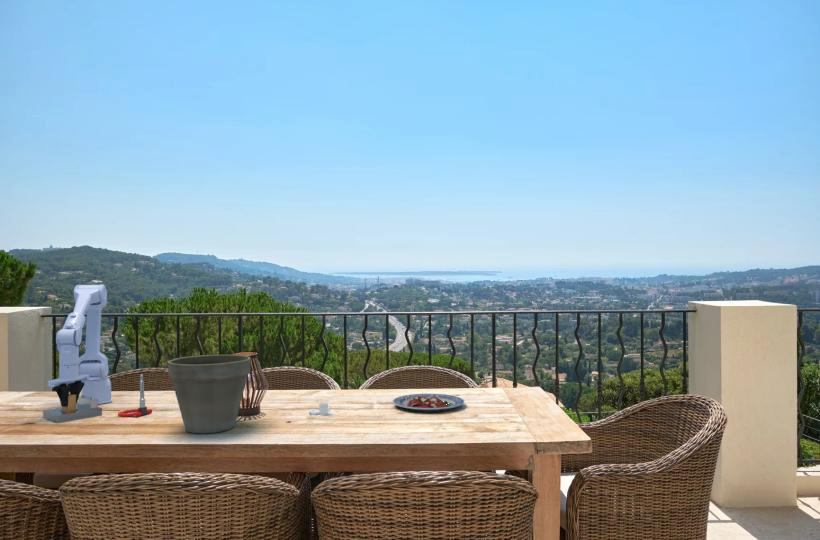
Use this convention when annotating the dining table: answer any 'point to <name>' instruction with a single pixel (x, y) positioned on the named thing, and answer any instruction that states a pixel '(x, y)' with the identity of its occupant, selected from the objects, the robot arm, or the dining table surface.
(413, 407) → the ceramic plate
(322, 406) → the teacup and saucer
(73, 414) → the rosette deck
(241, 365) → the plant pot
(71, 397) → the tan rectangular block
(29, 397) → the dining table surface
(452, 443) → the dining table surface
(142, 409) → the tow hook
